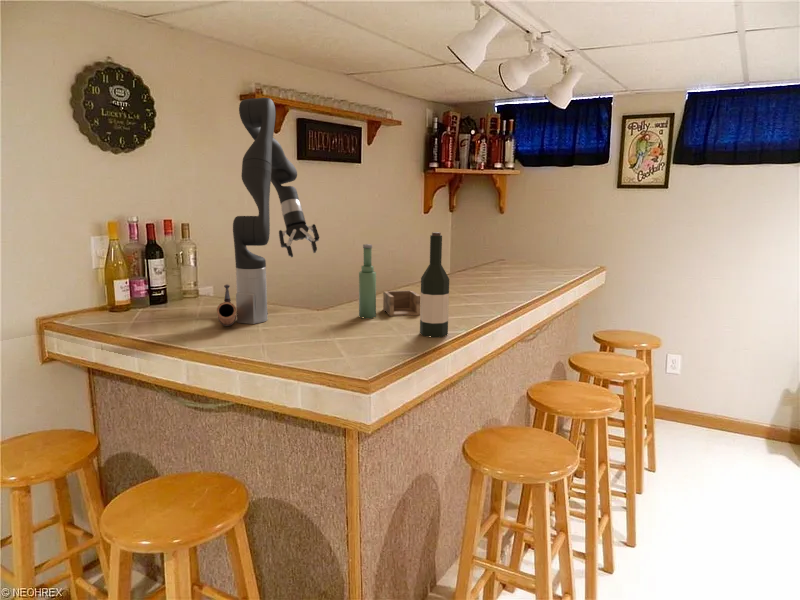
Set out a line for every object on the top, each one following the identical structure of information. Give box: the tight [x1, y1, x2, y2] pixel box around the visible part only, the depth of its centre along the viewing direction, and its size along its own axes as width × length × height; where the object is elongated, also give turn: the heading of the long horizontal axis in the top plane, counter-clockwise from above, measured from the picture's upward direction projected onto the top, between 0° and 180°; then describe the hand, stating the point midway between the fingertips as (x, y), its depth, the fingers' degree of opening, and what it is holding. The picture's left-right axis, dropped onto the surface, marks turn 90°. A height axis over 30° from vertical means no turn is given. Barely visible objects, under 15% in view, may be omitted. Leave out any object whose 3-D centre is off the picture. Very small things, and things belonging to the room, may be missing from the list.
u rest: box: [382, 290, 421, 317], centre depth 204 cm, size 10×10×7 cm
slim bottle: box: [358, 243, 377, 319], centre depth 195 cm, size 6×6×24 cm
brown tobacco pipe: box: [216, 284, 237, 327], centre depth 186 cm, size 5×29×10 cm, turn 15°
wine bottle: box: [419, 231, 450, 338], centre depth 173 cm, size 8×8×30 cm
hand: (303, 254), depth 218 cm, fingers open, 8 cm apart
